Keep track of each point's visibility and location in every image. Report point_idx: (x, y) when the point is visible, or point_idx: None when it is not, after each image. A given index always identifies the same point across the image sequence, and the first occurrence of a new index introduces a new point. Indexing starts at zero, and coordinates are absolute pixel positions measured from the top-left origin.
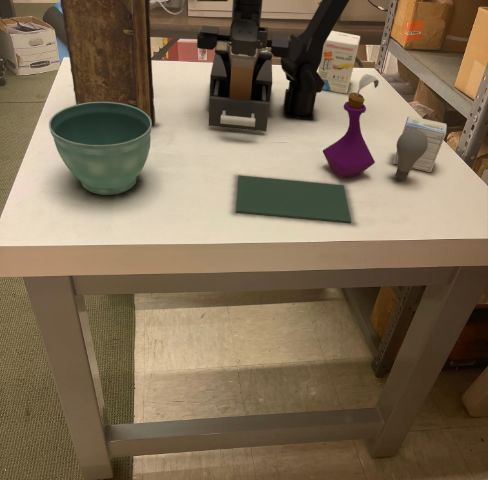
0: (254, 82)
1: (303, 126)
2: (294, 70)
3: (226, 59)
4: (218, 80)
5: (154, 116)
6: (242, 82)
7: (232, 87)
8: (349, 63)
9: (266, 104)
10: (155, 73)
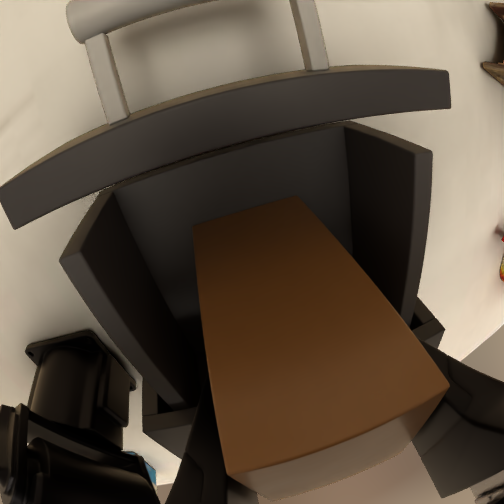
0: (205, 386)
1: (16, 299)
2: (36, 486)
3: (494, 408)
4: None
5: (502, 67)
6: (289, 332)
7: (346, 274)
8: None
9: (11, 179)
10: (460, 336)
